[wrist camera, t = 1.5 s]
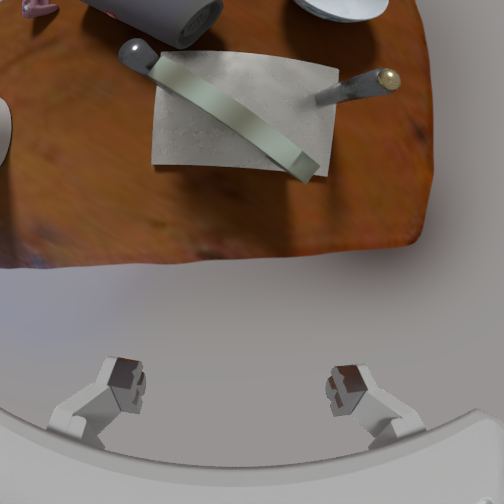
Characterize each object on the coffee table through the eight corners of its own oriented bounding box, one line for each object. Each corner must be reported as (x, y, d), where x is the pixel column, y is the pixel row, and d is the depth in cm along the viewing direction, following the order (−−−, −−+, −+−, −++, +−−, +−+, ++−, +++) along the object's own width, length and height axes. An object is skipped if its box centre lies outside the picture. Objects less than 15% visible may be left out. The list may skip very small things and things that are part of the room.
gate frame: (153, 163, 34) (92, 192, 17) (163, 54, 28) (114, -3, 11) (324, 175, 37) (397, 212, 20) (335, 70, 31) (414, 37, 14)
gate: (176, 96, 29) (147, 74, 17) (186, 83, 29) (162, 55, 16) (277, 165, 34) (305, 184, 22) (286, 154, 34) (320, 166, 21)
